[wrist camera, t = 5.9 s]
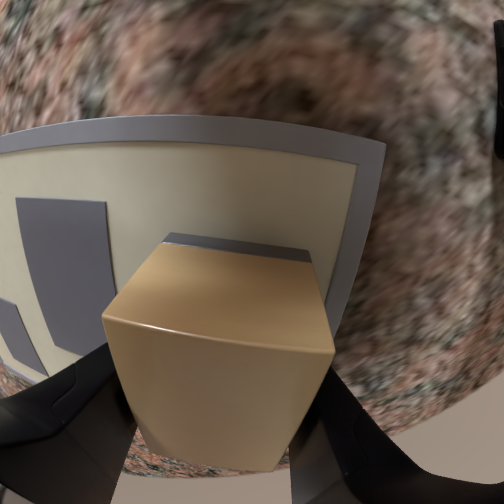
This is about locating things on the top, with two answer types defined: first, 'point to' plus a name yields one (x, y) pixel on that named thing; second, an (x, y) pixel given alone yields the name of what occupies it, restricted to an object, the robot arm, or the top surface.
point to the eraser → (220, 349)
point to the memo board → (163, 214)
